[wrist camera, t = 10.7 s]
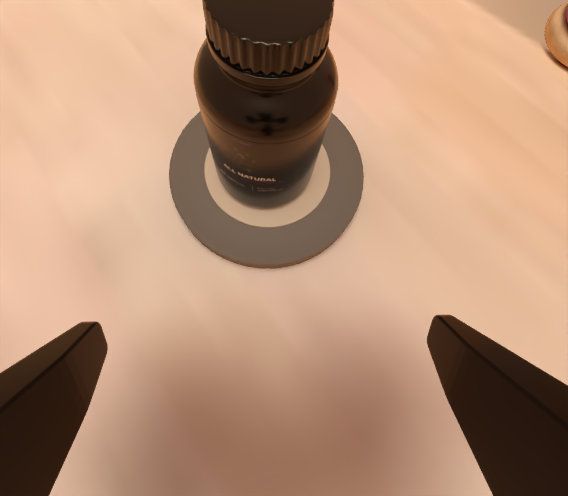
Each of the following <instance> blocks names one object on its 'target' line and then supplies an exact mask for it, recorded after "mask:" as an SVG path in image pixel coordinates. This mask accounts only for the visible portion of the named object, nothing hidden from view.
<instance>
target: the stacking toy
mask: <svg viewBox="0 0 568 496" xmlns="http://www.w3.org/2000/svg"><path fill="white" fill-rule="evenodd" d="M545 40H546V43H547V46H548V48H549V50H550V51H551V53H552V54H553V55H554V56H555V58H556V59H558V60H559V61H560V62H561V63H562V64H564V65H565V66H567V67H568V2H566V3H564V4H563V5H561V6H560V7H558V8H557V9H556V10H555V11H554V12H553V13H552V15H551V16H550V18H549V19H548V21H547V24H546V27H545Z"/></svg>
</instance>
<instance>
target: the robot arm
mask: <svg viewBox="0 0 568 496" xmlns="http://www.w3.org/2000/svg"><path fill="white" fill-rule="evenodd" d="M427 344H428V348H429V351H430V353H431V356H432V359H433V362H434V364H435V367H436V370H437V373H438V376H439V378H440V381H441V384H442V387H443V390H444V392H445V395H446V397H447V399H448V402H449V404H450V406H451V408H452V410H453V412H454V415H455V417H456V419H457V421H458V423H459V425H460V427H461V429H462V431H463V433H464V435H465V438H466V440H467V442H468V444H469V446H470V448H471V450H472V452H473V454H474V456H475V459H476V461H477V463H478V465H479V467H480V469H481V471H482V473H483V475H484V477H485V479H486V482H487V484H488V486H489V488H490V490H491V492H492V494H493V496H568V385H566V384H564V383H563V382H561V381H559V380H558V379H556V378H554V377H553V376H551V375H549V374H548V373H546V372H544V371H543V370H541V369H539V368H538V367H536V366H534V365H533V364H531V363H530V362H528V361H526V360H525V359H523V358H521V357H520V356H518V355H516V354H515V353H513V352H511V351H510V350H508V349H506V348H505V347H503V346H501V345H500V344H498V343H496V342H495V341H493V340H491V339H490V338H488V337H486V336H485V335H483V334H482V333H480V332H478V331H477V330H475V329H473V328H472V327H470V326H468V325H467V324H465V323H463V322H462V321H460V320H458V319H457V318H455V317H453V316H452V315H436V316H435V317H434V318H433V320H432V323H431V326H430V329H429V333H428V336H427ZM107 349H108V347H107V342H106V339H105V336H104V333H103V330H102V327H101V325H100V323H98V322H81V323H79V324H77V325H76V326H74V327H72V328H71V329H69V330H68V331H66V332H65V333H63V334H61V335H60V336H58V337H57V338H55V339H54V340H52V341H50V342H49V343H47V344H46V345H44V346H42V347H41V348H39V349H38V350H36V351H35V352H33V353H31V354H30V355H28V356H27V357H25V358H23V359H22V360H20V361H19V362H17V363H16V364H14V365H12V366H11V367H9V368H8V369H6V370H4V371H3V372H1V373H0V496H49V494H50V492H51V490H52V488H53V485H54V483H55V481H56V479H57V477H58V474H59V472H60V470H61V468H62V466H63V463H64V461H65V459H66V457H67V455H68V452H69V450H70V448H71V446H72V444H73V441H74V439H75V437H76V435H77V433H78V430H79V428H80V426H81V424H82V422H83V419H84V417H85V415H86V412H87V410H88V407H89V405H90V402H91V399H92V396H93V393H94V390H95V387H96V384H97V381H98V378H99V375H100V372H101V369H102V366H103V363H104V360H105V358H106V354H107Z"/></svg>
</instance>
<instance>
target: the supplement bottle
mask: <svg viewBox="0 0 568 496" xmlns="http://www.w3.org/2000/svg"><path fill="white" fill-rule="evenodd" d="M333 7H334V0H203V9H204V15H205V21H206V36H207V38H206V39H205V41H204V42H203V44H202V46H201V48H200V50H199V52H198V54H197V58H196V61H195V66H194V85H195V90H196V95H197V99H198V103H199V107H200V111H201V115H202V119H203V122H204V126H205V130H206V134H207V138H208V142H209V145H210V149H211V153H212V157H213V161H214V165H215V168H216V171H217V175H218V177H219V180H220V182H221V184H222V185H223V187H224V188H225V190H226V191H227V192H228V193H229V194H230V195H231V196H232V197H234V198H235V199H237V200H238V201H240V202H242V203H244V204H246V205H249V206H252V207H257V208H274V207H279V206H282V205H285V204H287V203H289V202H291V201H292V200H294V199H295V198H297V197H298V196H299V195H300V194H301V193H302V192H303V191H304V190H305V188H306V187H307V185H308V183H309V181H310V179H311V176H312V173H313V170H314V167H315V164H316V161H317V158H318V154H319V151H320V148H321V145H322V142H323V139H324V135H325V132H326V129H327V126H328V123H329V119H330V116H331V113H332V110H333V107H334V103H335V99H336V95H337V90H338V72H337V67H336V63H335V60H334V57H333V55H332V53H331V51H330V49H329V47H328V42H329V31H330V26H331V22H332V17H333Z"/></svg>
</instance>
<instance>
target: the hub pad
mask: <svg viewBox="0 0 568 496" xmlns="http://www.w3.org/2000/svg"><path fill="white" fill-rule="evenodd" d="M363 178H364V175H363V165H362V160H361V156H360V153H359V150H358V148H357V145H356V143H355V141H354V139H353V137H352V136H351V134H350V132H349V131H348V130H347V128H346V127H345V126H344V124H343V123H342V122H341V121H340V120H339V119H338V118H337V117H336V116H335V115H334V114H332V113H331V116H330V119H329V123H328V126H327V129H326V132H325V135H324V139H323V142H322V145H321V148H320V151H319V154H318V158H317V161H316V164H315V167H314V170H313V173H312V176H311V179H310V181H309V183H308V185H307V187H306V188H305V190H304V191H303V192H302V193H301V194H300V195H299V196H298V197H297V198H295V199H294V200H292V201H291V202H289V203H287V204H285V205H282V206H279V207H274V208H257V207H252V206H249V205H246V204H244V203H242V202H240V201H238V200H237V199H235V198H234V197H232V196H231V195H230V194H229V193H228V192H227V191H226V190H225V188H224V187H223V185H222V184H221V182H220V180H219V177H218V175H217V171H216V168H215V165H214V161H213V157H212V153H211V149H210V145H209V142H208V138H207V134H206V130H205V126H204V122H203V119H202V115H201V112H199V113H198V114H197V115H196V116H195V117H194V118H193V119H192V120H191V121H190V122H189V123H188V125H187V126H186V127H185V128H184V130H183V131H182V133H181V135H180V136H179V138H178V140H177V142H176V145H175V147H174V149H173V153H172V157H171V161H170V170H169V180H170V189H171V194H172V198H173V200H174V203H175V206H176V208H177V210H178V212H179V214H180V216H181V218H182V219H183V221H184V222H185V224H186V225H187V226H188V228H189V229H190V230H191V232H192V233H193V234H194V236H195V237H196V238H197V239H198V240H199V241H200V242H201V243H202V244H203V245H204V246H206V247H207V248H208V249H210V250H211V251H212V252H214V253H216V254H217V255H219V256H221V257H223V258H224V259H227V260H229V261H232V262H234V263H237V264H241V265H245V266H249V267H257V268H279V267H286V266H290V265H294V264H298V263H301V262H303V261H306V260H308V259H311V258H312V257H314V256H316V255H318V254H319V253H321V252H322V251H324V250H325V249H326V248H328V247H329V246H330V245H331V244H332V243H333V242H334V241H335V240H336V239H337V238H338V237H339V236H340V235H341V233H342V232H343V231H344V229H345V228H346V227H347V225H348V224H349V222H350V221H351V219H352V218H353V216H354V214H355V212H356V210H357V208H358V205H359V202H360V199H361V195H362V190H363Z"/></svg>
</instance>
